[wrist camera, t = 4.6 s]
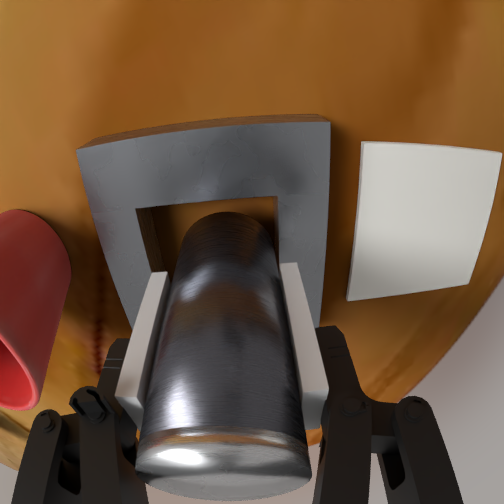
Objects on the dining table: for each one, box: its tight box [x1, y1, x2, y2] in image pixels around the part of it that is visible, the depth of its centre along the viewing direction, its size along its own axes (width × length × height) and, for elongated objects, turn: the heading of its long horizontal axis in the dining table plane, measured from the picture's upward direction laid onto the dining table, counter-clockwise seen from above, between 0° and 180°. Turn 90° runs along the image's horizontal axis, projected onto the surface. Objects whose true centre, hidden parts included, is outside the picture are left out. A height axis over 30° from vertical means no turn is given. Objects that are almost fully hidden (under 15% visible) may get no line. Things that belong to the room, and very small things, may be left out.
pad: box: [346, 141, 502, 301], centre depth 19 cm, size 11×11×1 cm
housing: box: [76, 114, 330, 330], centre depth 18 cm, size 14×12×2 cm
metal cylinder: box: [135, 212, 312, 501], centre depth 12 cm, size 5×5×12 cm
